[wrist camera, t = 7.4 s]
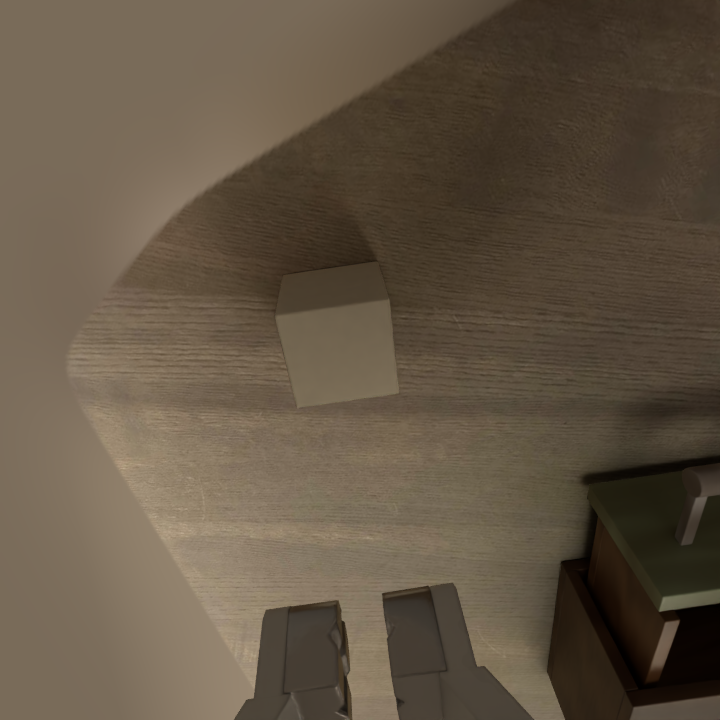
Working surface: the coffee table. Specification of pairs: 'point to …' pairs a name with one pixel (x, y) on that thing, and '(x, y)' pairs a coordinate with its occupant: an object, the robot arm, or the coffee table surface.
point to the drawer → (660, 573)
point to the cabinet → (609, 666)
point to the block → (337, 334)
